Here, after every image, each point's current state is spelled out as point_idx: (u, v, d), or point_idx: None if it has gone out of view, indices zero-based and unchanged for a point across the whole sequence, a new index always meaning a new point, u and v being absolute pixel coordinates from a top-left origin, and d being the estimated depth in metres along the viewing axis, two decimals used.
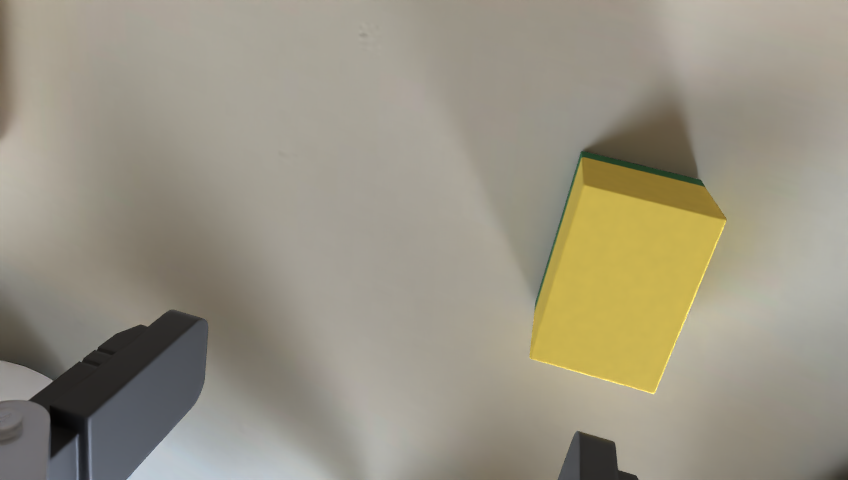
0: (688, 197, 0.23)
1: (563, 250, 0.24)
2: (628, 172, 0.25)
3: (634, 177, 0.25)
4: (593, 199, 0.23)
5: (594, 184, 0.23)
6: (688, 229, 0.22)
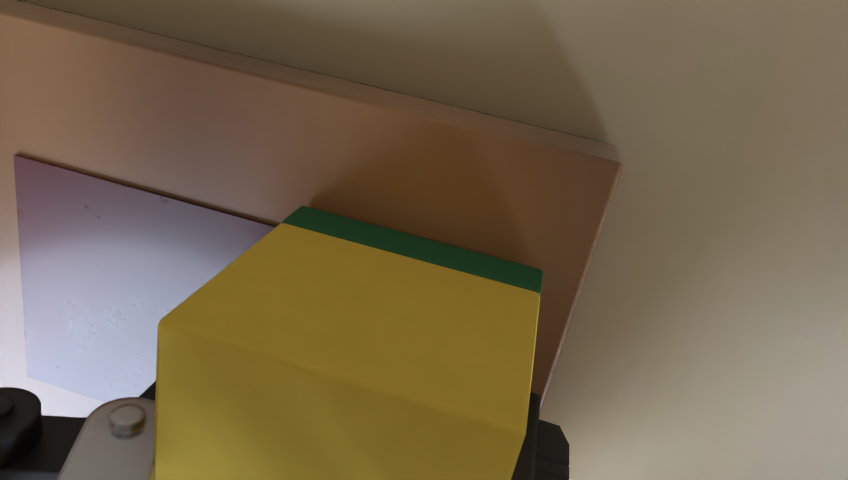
0: (461, 342, 0.09)
1: None
2: (360, 263, 0.11)
3: (361, 279, 0.11)
4: (187, 363, 0.09)
5: (189, 321, 0.09)
6: (428, 451, 0.08)
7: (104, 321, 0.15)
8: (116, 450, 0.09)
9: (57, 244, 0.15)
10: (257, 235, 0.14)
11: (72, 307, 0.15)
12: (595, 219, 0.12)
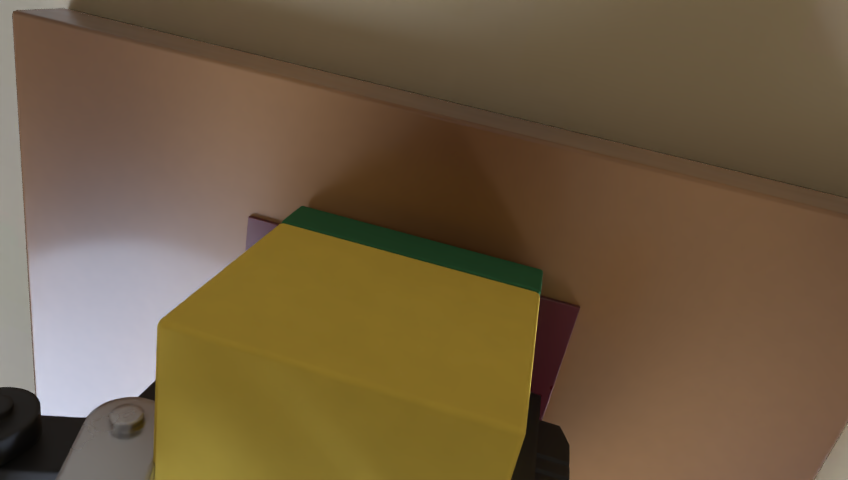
0: (461, 342, 0.09)
1: (154, 472, 0.09)
2: (360, 263, 0.11)
3: (361, 279, 0.11)
4: (187, 363, 0.09)
5: (189, 321, 0.09)
6: (428, 451, 0.08)
7: None
8: (116, 450, 0.09)
9: None
10: None
11: None
12: None
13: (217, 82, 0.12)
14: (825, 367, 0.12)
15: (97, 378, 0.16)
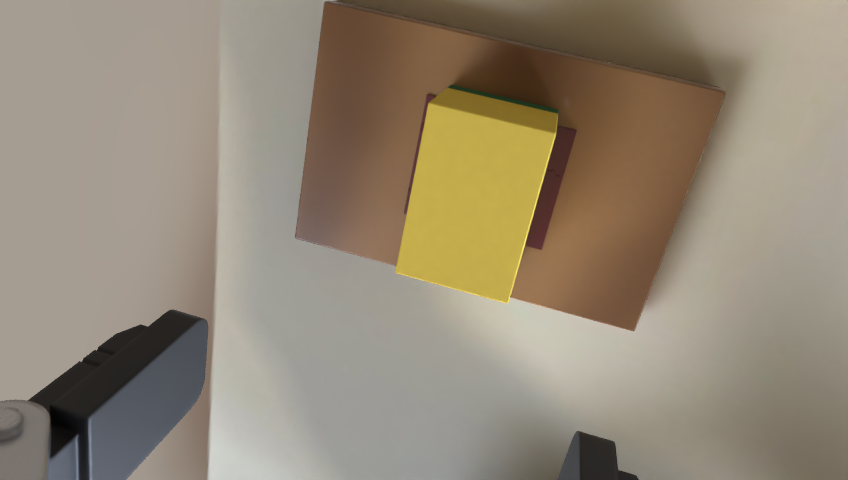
0: (530, 117, 0.25)
1: (416, 167, 0.26)
2: (485, 99, 0.27)
3: (488, 102, 0.27)
4: (438, 117, 0.25)
5: (439, 102, 0.25)
6: (523, 143, 0.24)
7: None
8: None
9: None
10: None
11: None
12: (712, 117, 0.27)
13: (418, 32, 0.29)
14: (681, 152, 0.28)
15: (337, 185, 0.32)
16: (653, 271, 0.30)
